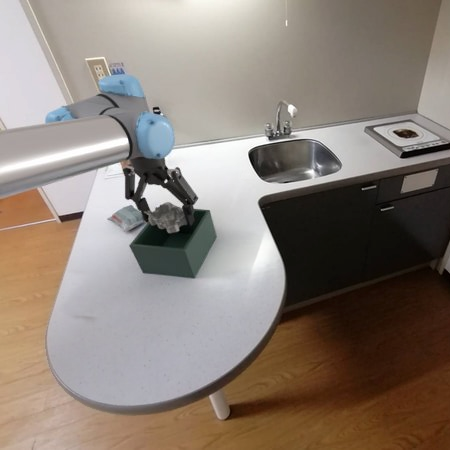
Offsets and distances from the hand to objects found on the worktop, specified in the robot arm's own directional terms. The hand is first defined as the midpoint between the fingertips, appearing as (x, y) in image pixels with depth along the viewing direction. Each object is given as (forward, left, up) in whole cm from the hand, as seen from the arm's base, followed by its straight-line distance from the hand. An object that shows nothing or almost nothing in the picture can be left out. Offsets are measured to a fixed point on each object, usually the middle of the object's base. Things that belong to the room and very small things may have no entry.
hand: (170, 221), depth 85 cm
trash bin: (0, 0, -13) cm, 13 cm away
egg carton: (0, 0, 0) cm, 0 cm away
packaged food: (-24, +11, -13) cm, 29 cm away
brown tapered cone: (-44, +45, -13) cm, 64 cm away
